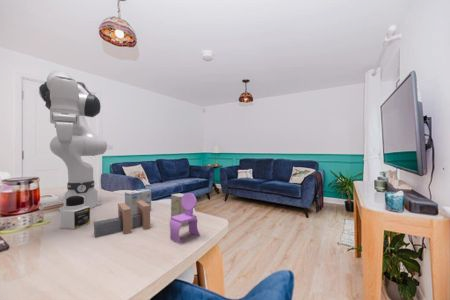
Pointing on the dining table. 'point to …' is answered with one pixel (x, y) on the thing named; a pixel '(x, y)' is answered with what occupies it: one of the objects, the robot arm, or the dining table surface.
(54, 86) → the robot arm
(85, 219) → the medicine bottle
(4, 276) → the dining table surface
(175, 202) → the skincare box
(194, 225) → the toy chair
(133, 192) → the light bulb box
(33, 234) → the dining table surface
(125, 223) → the brick collars
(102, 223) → the steel block
